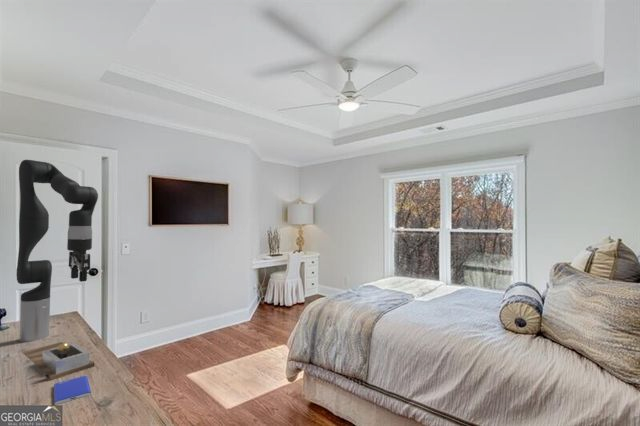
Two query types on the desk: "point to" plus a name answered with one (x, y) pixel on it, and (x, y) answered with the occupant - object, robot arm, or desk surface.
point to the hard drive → (71, 389)
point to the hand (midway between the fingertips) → (78, 279)
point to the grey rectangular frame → (65, 359)
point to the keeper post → (62, 350)
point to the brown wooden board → (37, 359)
